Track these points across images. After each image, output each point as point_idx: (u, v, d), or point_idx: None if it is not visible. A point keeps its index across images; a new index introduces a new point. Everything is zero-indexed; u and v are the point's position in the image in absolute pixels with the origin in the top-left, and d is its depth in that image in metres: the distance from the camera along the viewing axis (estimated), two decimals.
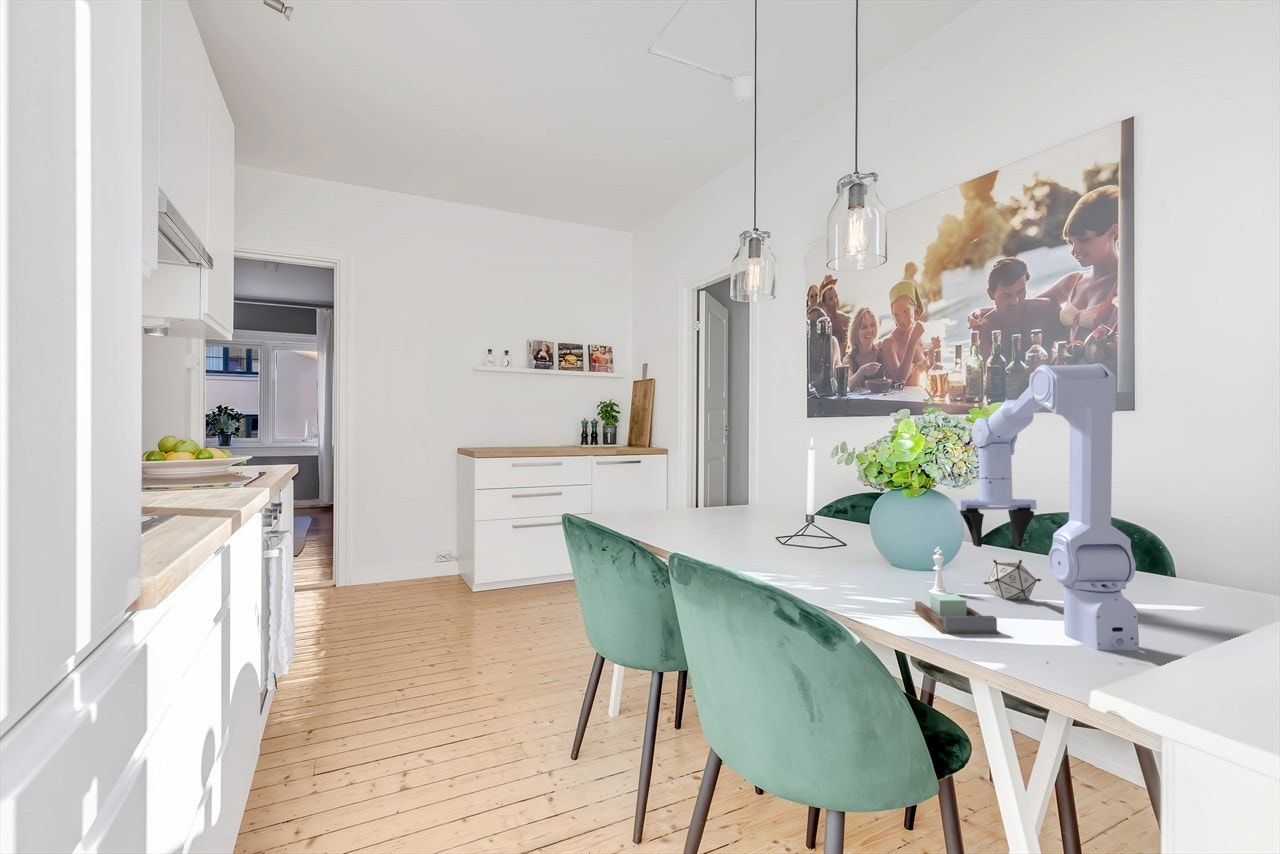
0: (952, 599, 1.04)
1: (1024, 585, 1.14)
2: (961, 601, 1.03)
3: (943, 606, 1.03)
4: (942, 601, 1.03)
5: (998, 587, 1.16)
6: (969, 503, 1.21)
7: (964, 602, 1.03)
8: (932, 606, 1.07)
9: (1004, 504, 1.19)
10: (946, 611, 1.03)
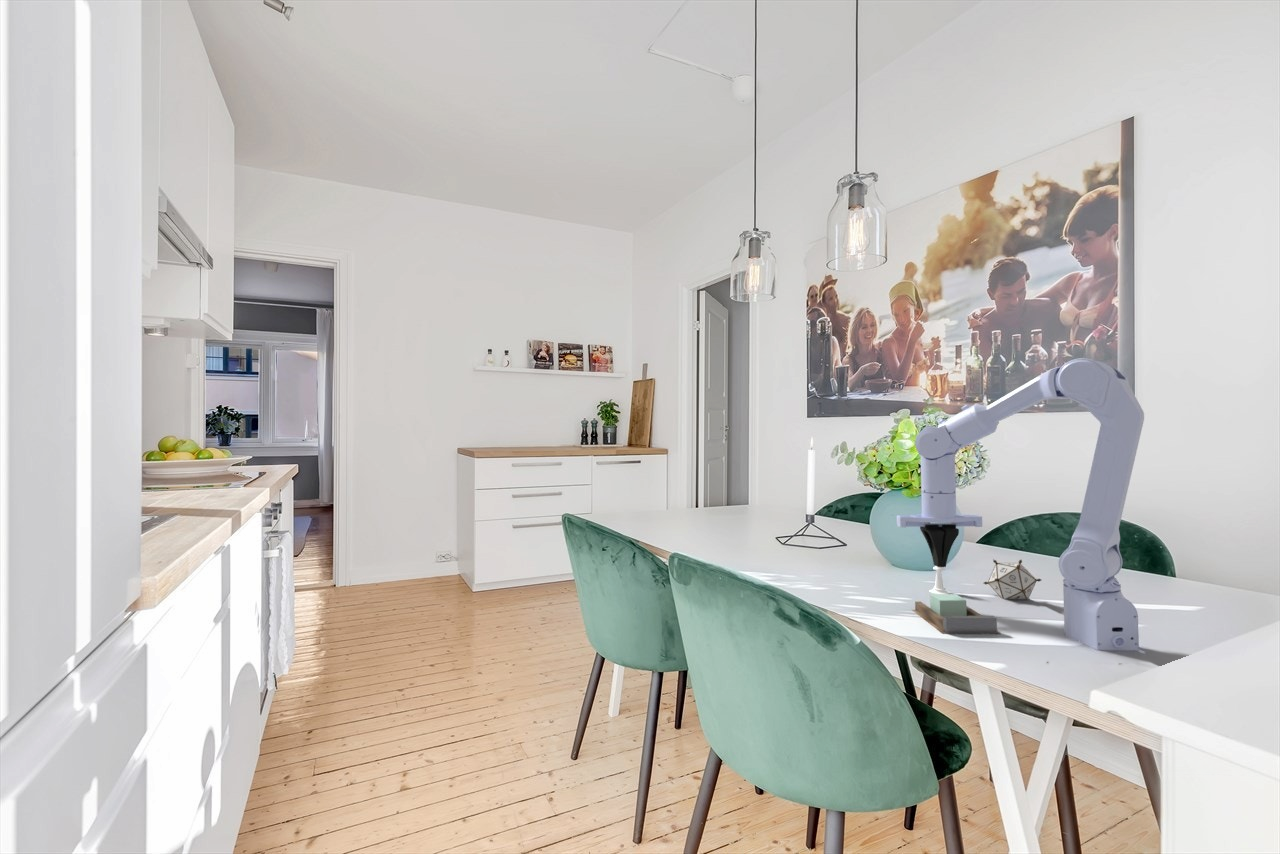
0: (952, 599, 1.04)
1: (1024, 585, 1.14)
2: (961, 601, 1.03)
3: (943, 606, 1.03)
4: (942, 601, 1.03)
5: (998, 587, 1.16)
6: (909, 519, 1.11)
7: (964, 602, 1.03)
8: (932, 606, 1.07)
9: (946, 521, 1.09)
10: (946, 611, 1.03)
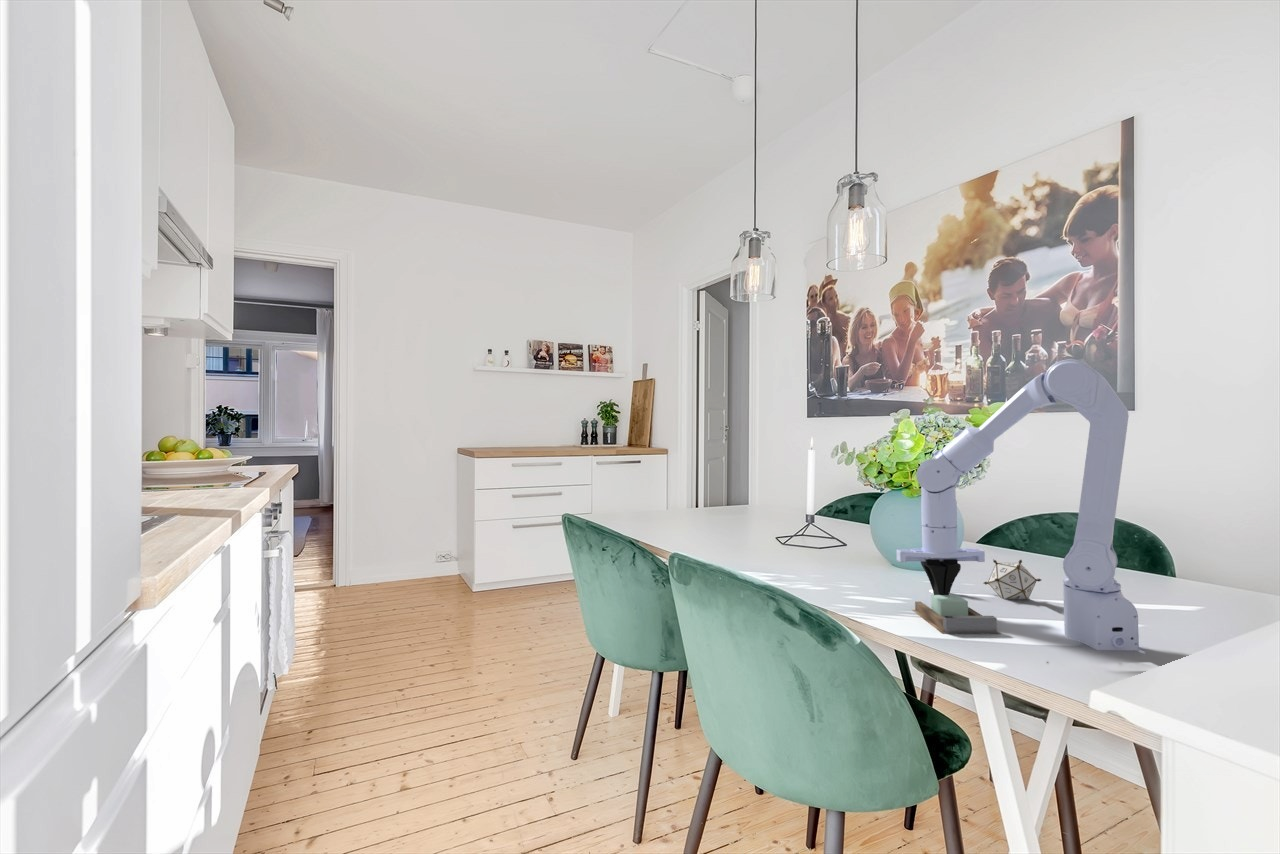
0: (953, 600, 1.03)
1: (1024, 585, 1.14)
2: (963, 602, 1.03)
3: (944, 607, 1.03)
4: (943, 602, 1.03)
5: (998, 587, 1.16)
6: (909, 554, 1.07)
7: (965, 603, 1.03)
8: (933, 607, 1.06)
9: (947, 556, 1.05)
10: (947, 612, 1.03)
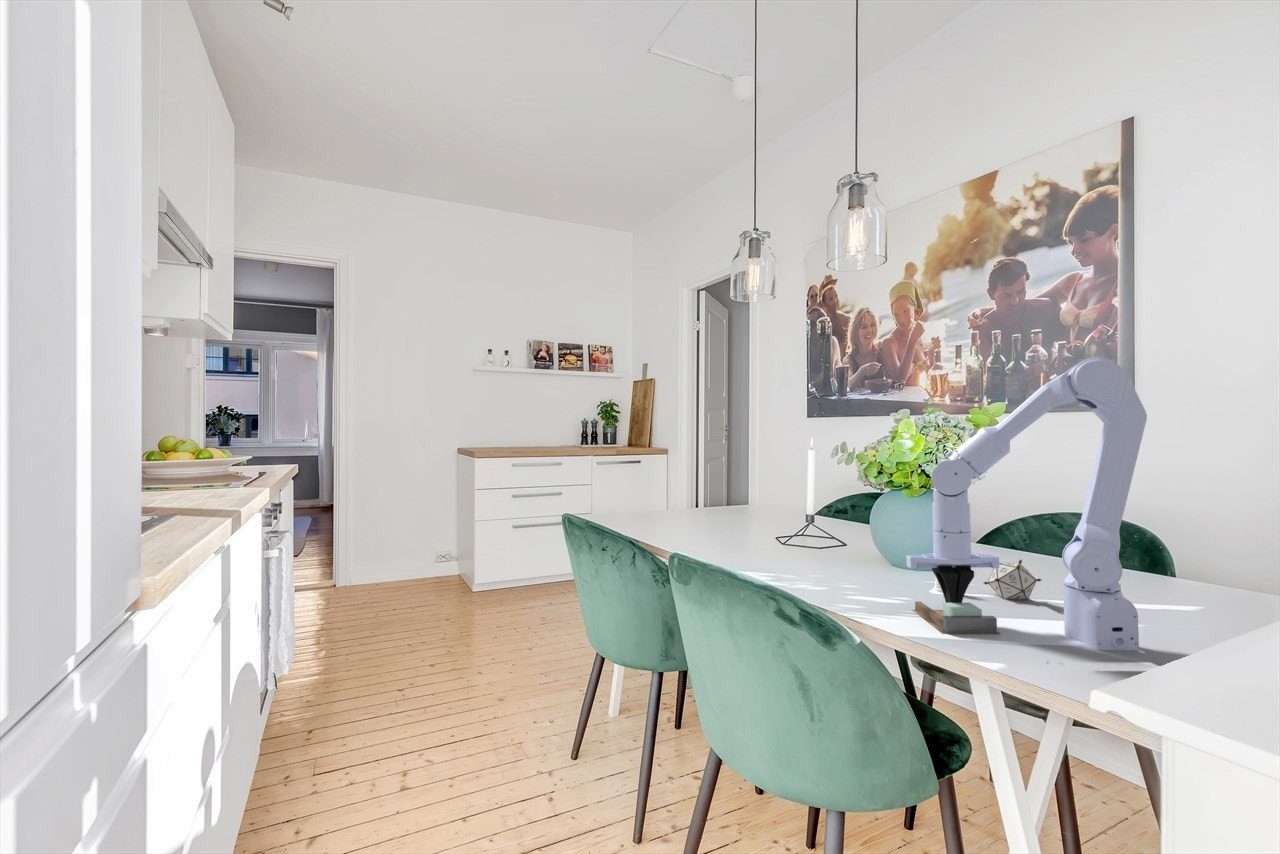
0: (967, 608, 0.99)
1: (1024, 585, 1.14)
2: (976, 610, 0.98)
3: None
4: (956, 610, 0.98)
5: (998, 587, 1.16)
6: (920, 560, 1.03)
7: (979, 612, 0.98)
8: None
9: (960, 563, 1.00)
10: None
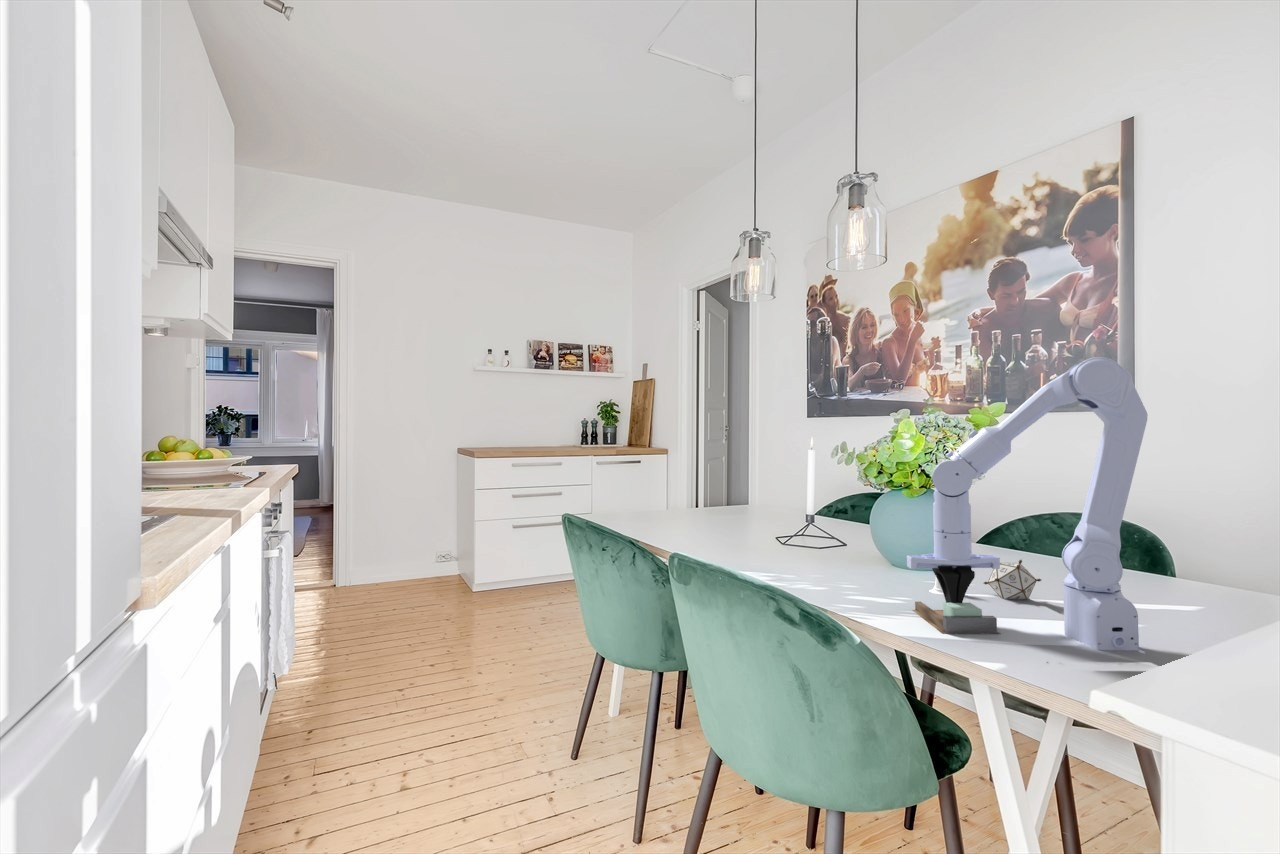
0: (967, 608, 0.99)
1: (1024, 585, 1.14)
2: (976, 610, 0.98)
3: None
4: (956, 610, 0.98)
5: (998, 587, 1.16)
6: (920, 561, 1.02)
7: (979, 612, 0.98)
8: None
9: (961, 563, 1.00)
10: None
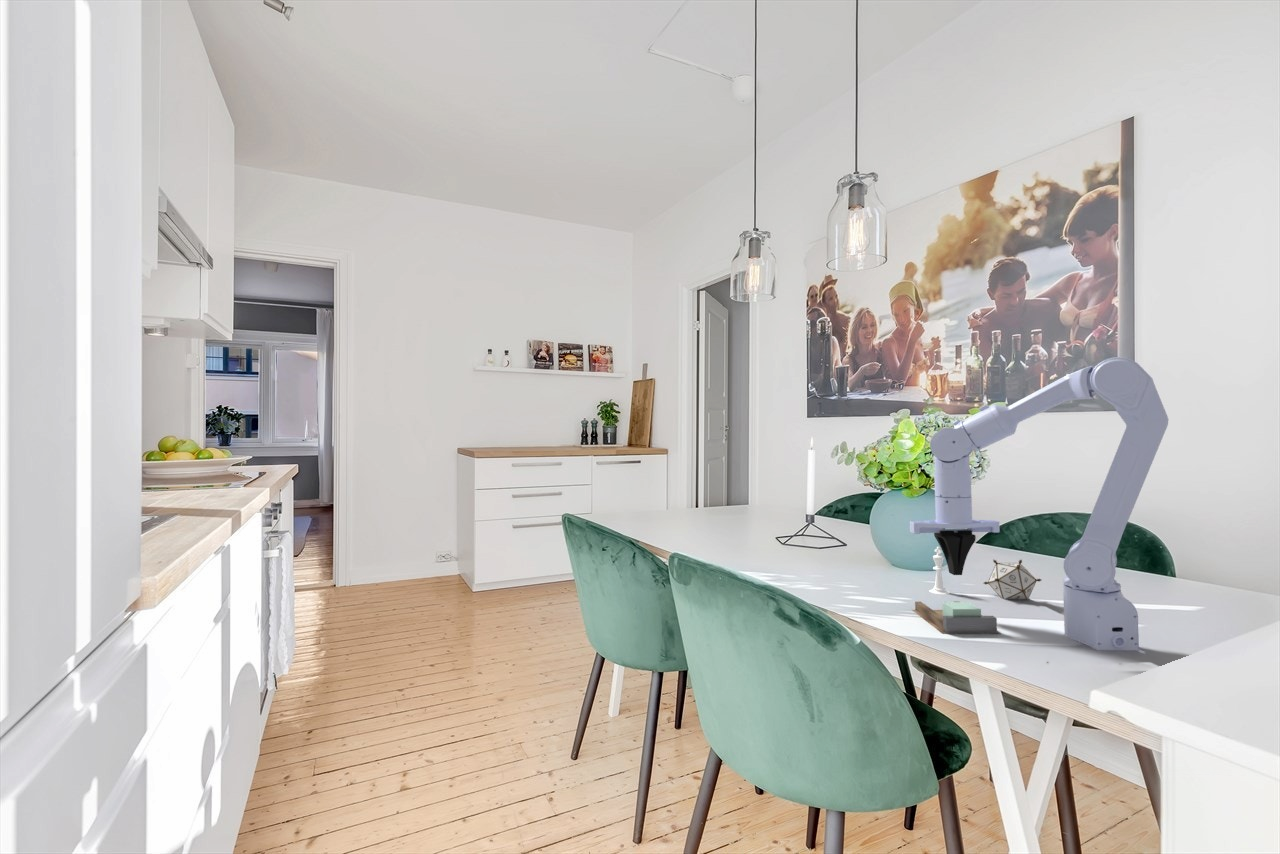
0: (966, 608, 0.99)
1: (1024, 585, 1.14)
2: (975, 610, 0.98)
3: (956, 615, 0.98)
4: (955, 610, 0.98)
5: (998, 587, 1.16)
6: (923, 525, 1.06)
7: (978, 611, 0.98)
8: (945, 615, 1.02)
9: (962, 527, 1.03)
10: None
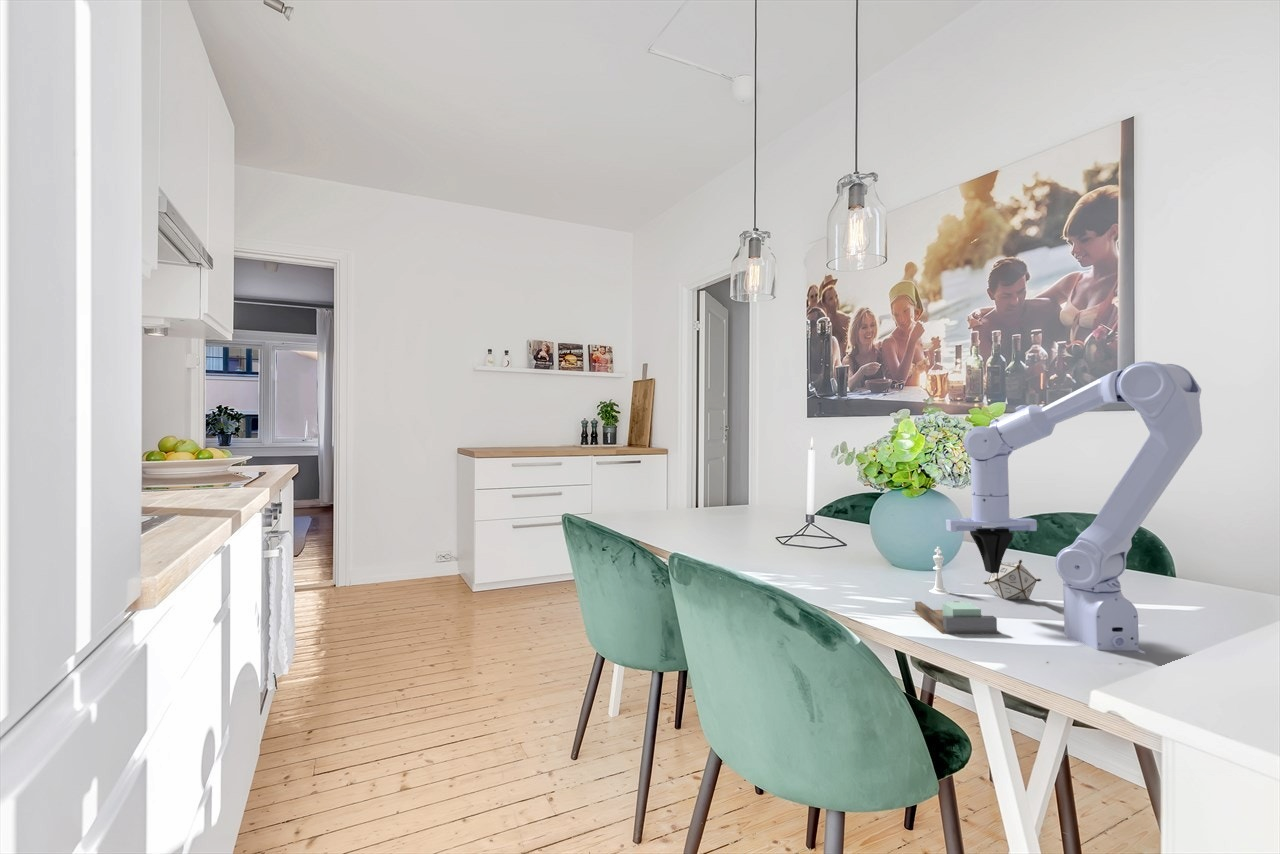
0: (966, 608, 0.99)
1: (1024, 585, 1.14)
2: (975, 610, 0.98)
3: (956, 615, 0.98)
4: (955, 610, 0.98)
5: (998, 587, 1.16)
6: (960, 523, 1.06)
7: (978, 611, 0.98)
8: (945, 615, 1.02)
9: (1000, 525, 1.04)
10: None
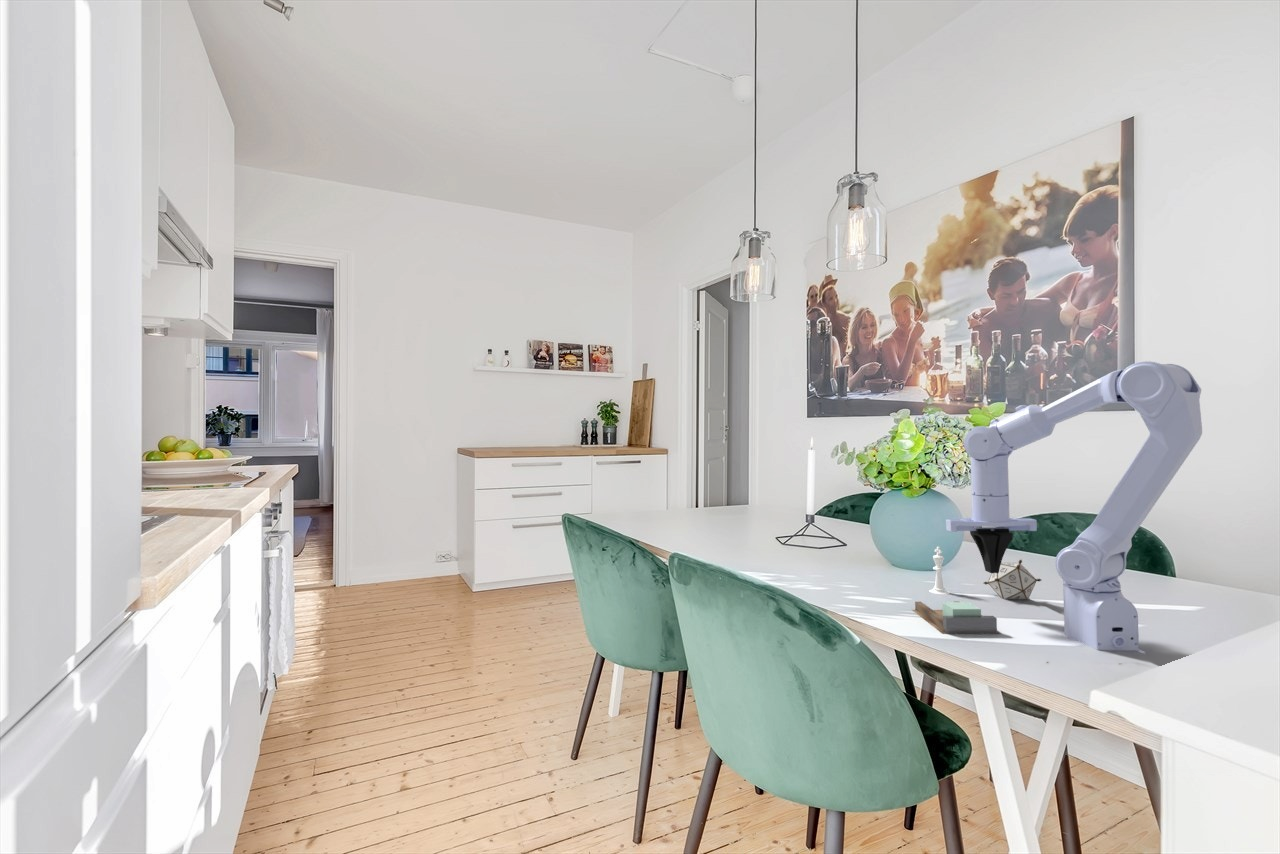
0: (966, 608, 0.99)
1: (1024, 585, 1.14)
2: (975, 610, 0.98)
3: (956, 615, 0.98)
4: (955, 610, 0.98)
5: (998, 587, 1.16)
6: (960, 523, 1.06)
7: (978, 611, 0.98)
8: (945, 615, 1.02)
9: (1000, 525, 1.04)
10: None
